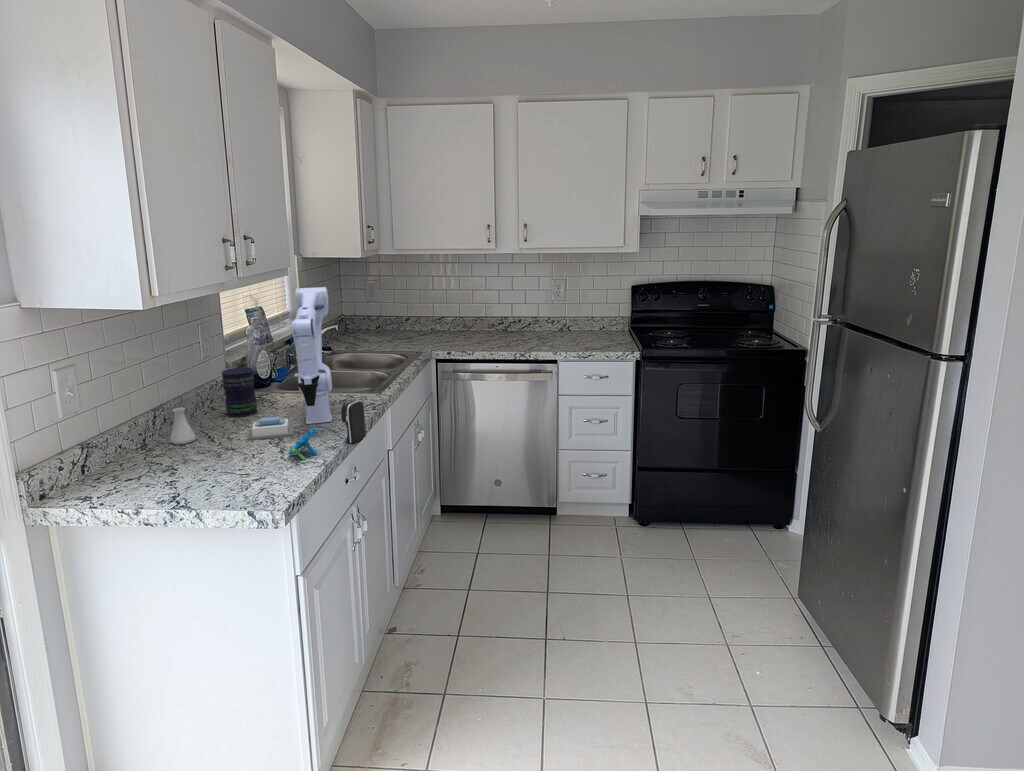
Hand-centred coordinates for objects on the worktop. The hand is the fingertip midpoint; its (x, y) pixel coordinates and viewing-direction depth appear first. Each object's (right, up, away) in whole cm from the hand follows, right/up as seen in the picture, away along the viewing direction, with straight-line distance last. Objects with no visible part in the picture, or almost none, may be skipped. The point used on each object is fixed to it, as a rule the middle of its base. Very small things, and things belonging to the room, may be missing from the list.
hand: (311, 402), depth 211 cm
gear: (+3, -14, -20) cm, 24 cm away
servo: (-13, -9, +1) cm, 15 cm away
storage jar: (-30, -5, +25) cm, 40 cm away
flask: (-37, -12, -4) cm, 39 cm away
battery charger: (+15, -11, -8) cm, 20 cm away
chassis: (-13, -9, +1) cm, 16 cm away
